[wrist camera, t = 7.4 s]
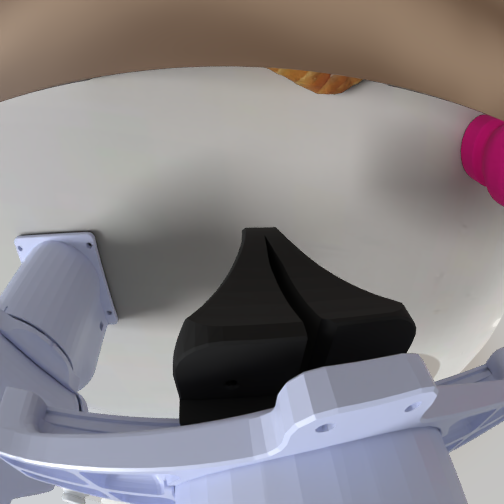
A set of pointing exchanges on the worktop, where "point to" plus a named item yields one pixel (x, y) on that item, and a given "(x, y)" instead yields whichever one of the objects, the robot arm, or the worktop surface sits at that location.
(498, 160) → the pepper mill
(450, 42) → the walnut shelf
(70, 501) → the supplement bottle
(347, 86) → the pastry
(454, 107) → the worktop surface
